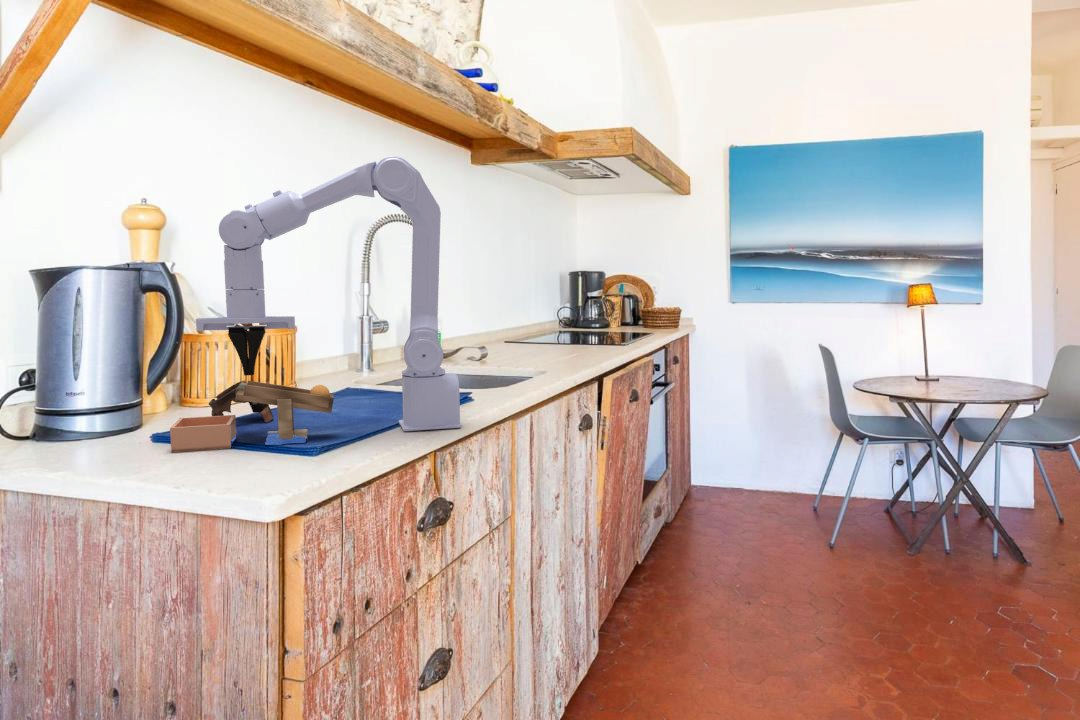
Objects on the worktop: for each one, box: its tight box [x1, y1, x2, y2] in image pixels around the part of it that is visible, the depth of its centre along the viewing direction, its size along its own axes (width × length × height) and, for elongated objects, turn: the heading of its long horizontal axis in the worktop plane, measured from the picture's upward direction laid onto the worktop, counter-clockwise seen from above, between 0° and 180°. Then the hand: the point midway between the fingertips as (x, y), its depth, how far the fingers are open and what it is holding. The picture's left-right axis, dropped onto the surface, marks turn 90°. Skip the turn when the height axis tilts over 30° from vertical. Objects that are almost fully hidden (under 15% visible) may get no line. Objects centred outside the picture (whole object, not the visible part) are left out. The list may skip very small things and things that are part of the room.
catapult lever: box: [235, 380, 335, 414], centre depth 115 cm, size 14×11×2 cm
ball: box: [310, 384, 331, 397], centre depth 114 cm, size 3×3×3 cm
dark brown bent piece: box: [208, 380, 274, 423], centre depth 129 cm, size 12×10×8 cm
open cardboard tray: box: [169, 414, 237, 454], centre depth 110 cm, size 8×8×4 cm
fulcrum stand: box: [267, 399, 308, 439], centre depth 113 cm, size 6×8×7 cm
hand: (249, 374), depth 116 cm, fingers closed
